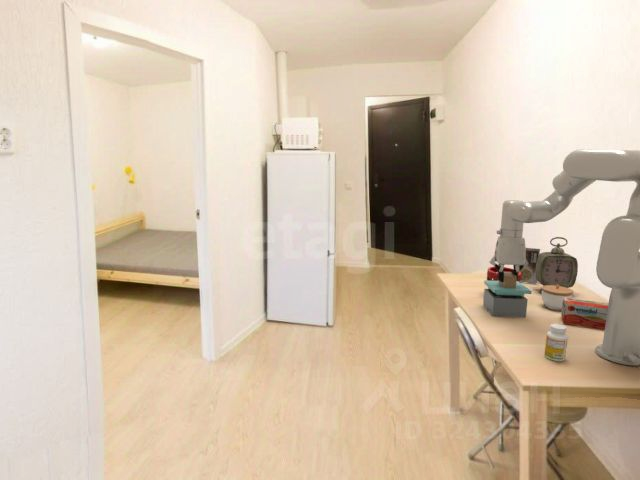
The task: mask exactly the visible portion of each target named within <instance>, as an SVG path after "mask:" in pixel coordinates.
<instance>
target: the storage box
mask: <svg viewBox="0 0 640 480" xmlns="http://www.w3.org/2000/svg"><path fill="white" fill-rule="evenodd" d="M528 302H529V301H528V298H527V297H525V295H524V296H517V295H497V294H496V293H494V292H493V291H492V290H491V289H489V288H484V292H483V301H482V304H483V305H482V306H483V307H484V309H485V310H487V312H488V313H489V315H491V317H501V318H502V317H504V318H505V317H506V318H527V308H528Z"/></svg>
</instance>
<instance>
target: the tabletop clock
mask: <svg viewBox="0 0 640 480" xmlns="http://www.w3.org/2000/svg"><path fill="white" fill-rule="evenodd" d="M556 239H557V240H558V239H559V240H560V239H561V240H564V241H565V242H566V243H565V244H560V243H556V244H554V243H553V240H556ZM549 243H550V245H551V246H553V247H552V248H551V251H544V252H540V254H539V256H538V258H537V263H536V273H535V274H536V279H537V283H538V282H539V284H541V285H542V287H543V286H545V285H555V286H556V285H559V286H562V287H566V288H569V289H571V288H572V287H574V286H575V283H576V281H577V277H578V268H579V264H578V259H577V258H576V257H574V256H572V255H571V254H568V253H565V251H564V248H562V247H565V246H567V245H568V244H569V243H568V239H566V238H565V237H562V236H560V237H559V236H555V237H552V238H551V239H550V241H549ZM539 293H540V294H542V289H540V290H539Z"/></svg>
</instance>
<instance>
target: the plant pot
mask: <svg viewBox="0 0 640 480" xmlns="http://www.w3.org/2000/svg"><path fill="white" fill-rule="evenodd" d="M513 269H514V268H511V267H506V266H504V268H503V272H511V273H512V271H513ZM520 279H521V272H520V271H519V272H518V279H517V280H516V281H519V282H520ZM486 280H487V281H499V279H498V270H497V268H496V267H495V266H489V267H488V268H487V273H486ZM520 283H521V282H520ZM487 289H490V288H489V287H488V286H487Z"/></svg>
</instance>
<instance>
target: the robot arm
mask: <svg viewBox="0 0 640 480" xmlns="http://www.w3.org/2000/svg"><path fill="white" fill-rule="evenodd" d="M562 170H563V171H561V172H559V174H557V175H556V176H554V177H553V179H552V181H551V183H552V187H553V189H554V191H553V192H552V193H551V194H549V195H548V196H547V197H546V198H544V199H543V200H534V201H533V200H532V201H523V200H515V199H513V200H511V199H509V200H507V199H506V200H504V202H502V206H501V207H502V210H501V219H500V220H501V222H500V228H499V230H498V229H497V230H496V234H497V235H499V236H498V237H497V240H496V244H495V249H494V255H493V257H492V258H491V259H490V260H489V261H488V262H489V264H490V265H492V267H496V268H497V270H498V272H497V273H498V279H499V281H500V282H503V278H504V272H503V268H504V267H505V265H508V266H509V265H512V266H513V268H512V269H513V271H512V274H514V275H515V276H517V279H518V272H519V271H520V270H521V269H522V268H523V267H525V266H527V265H528V264H529V263H528V261H527V260H526V248H527V247H526V239H525V237H523V232H524V224H533V223H535V224H536V223H544V222H549V221H551V220H552V219H553V218H555V217H557V216H558V215H560V214H561V213H563V212H564V211H565V210H567V208H568V207H569V206H570V205H571V203H572V202H573V199H574V197H576V196H577V195H579V194H580V193H581V192H583V190H585V189H586V188H587V187H589V186H590V185H592V184H594V182H596V181H604V182H616V183H618V182H635V183H636V187H635V188H634V190H633V192H632V193H631V195H630V198H629V201H628V202H629V203H628V208H627V211H626V214H625V215H621V216H617V217H614V218H613V219H611V220H610V221H609V222H608V223H607V224H606V226H605V228H604V229H603V233H602V236H601V240H600V246H599V250H598V254H597V262H596V269H595V271H596V272H595V273H596V276H597V279H598V280H599V282H600V283H601V284H602V285H603V286H605V287H606V288H607V287H608V288H609V289H611V290H610V293H609V297H608V298H609V299H608V302H607V303H608V310H607V317H606V324H605V330H603V340H602V343H600V344H598V345H596V346H595V353H596V354H597V355H598V356H600V357H601V358H603V359H605V360H608V361H611V362H613V363H616V364H620V365H624V366H632V367H633V366H634V367H635V366H636V367H638V366H639V365H640V150H628V149H626V150H625V149H590V148H588V149H585V148H582V149H581V148H580V149H576V150H573V151H571V152H569V154H567V155H566V156H565V158H564V160H563V162H562Z"/></svg>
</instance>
